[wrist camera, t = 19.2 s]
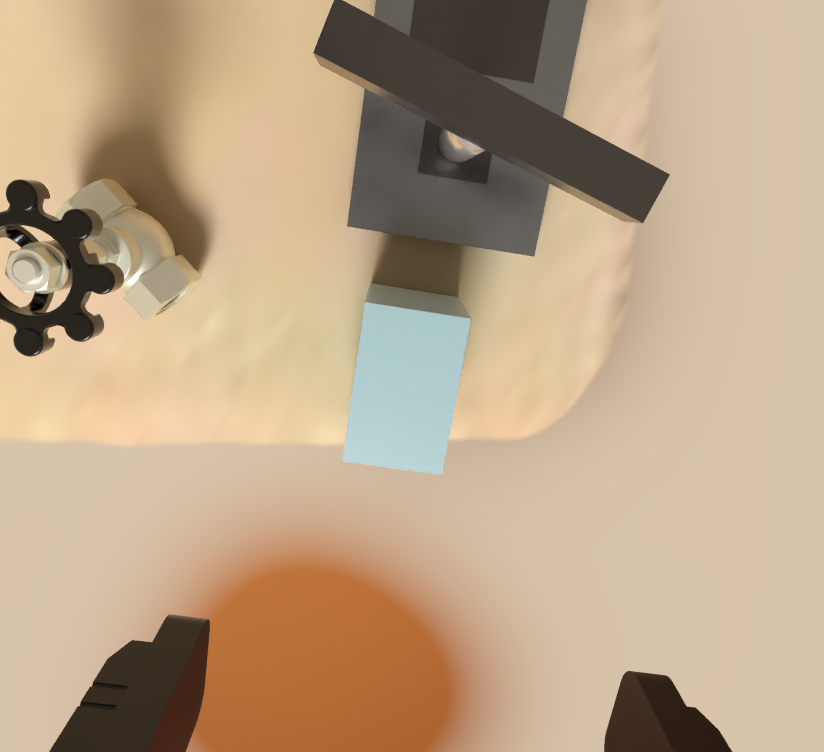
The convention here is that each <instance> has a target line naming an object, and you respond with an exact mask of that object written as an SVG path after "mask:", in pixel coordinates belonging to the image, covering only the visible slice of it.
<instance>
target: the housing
mask: <svg viewBox="0 0 824 752" xmlns="http://www.w3.org/2000/svg"><path fill="white" fill-rule="evenodd" d="M586 2H587V0H376V7H375V15H374V17H375V18H377V19H378V20H380V21H382V22H384V23H386V24H388V25H390V26H392V27H393V28H395V29H397V30H399V31H401V32H403V33H405V34H407V35H409V36H410V37H412V38H414V39H416V40H418V41H420V42H422V43H424V44H425V45H427V46H429V47H431V48H433V49H435V50H437V51H439V52H440V53H442V54H444V55H446V56H448V57H450V58H452V59H454V60H455V61H457V62H459V63H461V64H463V65H465V66H467V67H469V68H471V69H472V70H474V71H476V72H478V73H480V74H482V75H484V76H486V77H487V78H489V79H491V80H493V81H495V82H497V83H499V84H501V85H502V86H504V87H506V88H508V89H510V90H512V91H514V92H516V93H517V94H519V95H521V96H523V97H525V98H527V99H529V100H531V101H533V102H534V103H536V104H538V105H540V106H542V107H544V108H546V109H548V110H549V111H551V112H553V113H555V114H557V115H559V116H561V117H563V114H564V109H565V104H566V99H567V95H568V90H569V85H570V80H571V75H572V70H573V65H574V61H575V56H576V51H577V46H578V41H579V36H580V31H581V27H582V22H583V17H584V12H585V7H586ZM442 130H443V128H441V127H439V126H437V125H435V124H433V123H431V122H429V121H428V120H426V119H424V118H422V117H420V116H418V115H416V114H414V113H412V112H410V111H408V110H406V109H404V108H402V107H400V106H398V105H396V104H394V103H393V102H391V101H389V100H387V99H385V98H383V97H381V96H379V95H377V94H375V93H373V92H371V91H369V90H367V89H365V93H364V100H363V108H362V116H361V124H360V131H359V139H358V147H357V155H356V162H355V170H354V178H353V186H352V194H351V201H350V209H349V217H348V225H347V226H348V227H355V228H361V229H367V230H373V231H379V232H386V233H392V234H398V235H404V236H411V237H417V238H423V239H429V240H435V241H442V242H448V243H454V244H460V245H466V246H473V247H479V248H485V249H491V250H497V251H504V252H510V253H516V254H522V255H529V256H534V255H535V250H536V245H537V240H538V235H539V230H540V226H541V221H542V216H543V211H544V206H545V201H546V196H547V192H548V187H549V183H548V182H546V181H544V180H542V179H540V178H538V177H536V176H534V175H532V174H530V173H529V172H527V171H525V170H523V169H521V168H519V167H517V166H515V165H513V164H511V163H509V162H507V161H505V160H503V159H501V158H499V157H497V156H495V155H494V154H492V153H490V152H488V151H486V150H485V151H483V152H481V153H479V154H478V155H476V156H474V157H472V158H471V159H469V160H467V161H465V162H460V163H457V162H452V161H450V160H448V159H447V158H445V157H444V155H443V154H442V152H441V150H440V147H439V136H440V133H441V131H442Z"/></svg>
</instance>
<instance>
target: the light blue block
mask: <svg viewBox="0 0 824 752" xmlns="http://www.w3.org/2000/svg"><path fill="white" fill-rule="evenodd" d="M470 322H471V318H470V316H469V315H468V313H467V311H466V310H465V308H464V306H463V305H462V303H461V301H460V300H459V298H458V297H455V296H449V295H443V294H437V293H430V292H424V291H418V290H411V289H405V288H399V287H392V286H386V285H380V284H374V283H371V285H370V288H369V291H368V294H367V297H366V300H365V305H364V312H363V319H362V326H361V333H360V340H359V347H358V354H357V361H356V368H355V375H354V382H353V389H352V396H351V403H350V410H349V417H348V424H347V431H346V438H345V445H344V452H343V461H346V462H353V463H360V464H367V465H374V466H382V467H388V468H396V469H402V470H409V471H417V472H425V473H432V474H438V475H442V471H443V465H444V459H445V455H446V449H447V444H448V439H449V434H450V428H451V423H452V418H453V412H454V407H455V402H456V396H457V391H458V386H459V380H460V375H461V370H462V365H463V359H464V354H465V349H466V343H467V338H468V333H469V327H470Z"/></svg>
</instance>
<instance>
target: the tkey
mask: <svg viewBox="0 0 824 752" xmlns="http://www.w3.org/2000/svg"><path fill="white" fill-rule="evenodd" d="M313 53H314V55H315V57H316V59H317V60H318V62H319V64H320V65H321V66H323V67H325V68H326V69H328V70H330V71H332V72H334V73H336V74H338V75H340V76H342V77H344V78H346V79H348V80H350V81H352V82H354V83H356V84H358V85H360V86H361V87H363V88H365V89H367V90H369V91H371V92H373V93H375V94H377V95H379V96H381V97H383V98H385V99H387V100H389V101H391V102H393V103H394V104H396V105H398V106H400V107H402V108H404V109H406V110H408V111H410V112H412V113H414V114H416V115H418V116H420V117H422V118H424V119H426V120H428V121H429V122H431V123H433V124H435V125H437V126H439V127H441V128H443V130H442V131H441V133H440V136H439V147H440V150H441V152H442V154H443V155H444V157H445V158H447V159H448V160H450V161H452V162H457V163H460V162H465V161H467V160H469V159H471V158H472V157H474V156H476V155H478V154H479V153H481V152H483V151H485V150H486V151H488V152H490V153H492V154H494V155H495V156H497V157H499V158H501V159H503V160H505V161H507V162H509V163H511V164H513V165H515V166H517V167H519V168H521V169H523V170H525V171H527V172H529V173H530V174H532V175H534V176H536V177H538V178H540V179H542V180H544V181H546V182H548V183H550V184H552V185H554V186H556V187H558V188H560V189H562V190H563V191H565V192H567V193H569V194H571V195H573V196H575V197H577V198H579V199H581V200H583V201H585V202H587V203H589V204H591V205H593V206H595V207H596V208H598V209H600V210H602V211H604V212H606V213H608V214H610V215H612V216H614V217H616V218H618V219H620V220H622V221H625V222H635V223H643V222H644V220H645V218H646V217H647V215H648V213H649V211H650V209H651V208H652V206H653V204H654V202H655V201H656V199H657V197H658V195H659V193H660V191H661V190H662V188H663V186H664V184H665V182H666V181H667V179H668V177H669V174H668V173H666V172H664V171H662V170H660V169H658V168H656V167H655V166H653V165H651V164H649V163H647V162H645V161H643V160H641V159H640V158H638V157H636V156H634V155H632V154H630V153H628V152H626V151H625V150H623V149H621V148H619V147H617V146H615V145H613V144H611V143H610V142H608V141H606V140H604V139H602V138H600V137H598V136H596V135H595V134H593V133H591V132H589V131H587V130H585V129H583V128H581V127H579V126H578V125H576V124H574V123H572V122H570V121H568V120H566V119H564V118H563V117H561V116H559V115H557V114H555V113H553V112H551V111H549V110H548V109H546V108H544V107H542V106H540V105H538V104H536V103H534V102H533V101H531V100H529V99H527V98H525V97H523V96H521V95H519V94H517V93H516V92H514V91H512V90H510V89H508V88H506V87H504V86H502V85H501V84H499V83H497V82H495V81H493V80H491V79H489V78H487V77H486V76H484V75H482V74H480V73H478V72H476V71H474V70H472V69H471V68H469V67H467V66H465V65H463V64H461V63H459V62H457V61H455V60H454V59H452V58H450V57H448V56H446V55H444V54H442V53H440V52H439V51H437V50H435V49H433V48H431V47H429V46H427V45H425V44H424V43H422V42H420V41H418V40H416V39H414V38H412V37H410V36H409V35H407V34H405V33H403V32H401V31H399V30H397V29H395V28H393V27H392V26H390V25H388V24H386V23H384V22H382V21H380V20H378V19H377V18H375V17H373V16H371V15H369V14H367V13H365V12H363V11H362V10H360V9H358V8H356V7H354V6H352V5H350V4H348V3H347V2H345V1H343V0H334V2H333V4H332V7H331V9H330V12H329V14H328V17H327V19H326V22H325V24H324V27H323V29H322V32H321V34H320V37H319V39H318V42H317V45H316V47H315V50H314V52H313Z"/></svg>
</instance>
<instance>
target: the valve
mask: <svg viewBox="0 0 824 752" xmlns="http://www.w3.org/2000/svg"><path fill="white" fill-rule="evenodd" d="M6 197H7V200H8V202H9V204H10V206H9V208H8V210H6V211H4V212H1V213H0V238H1V237H7V238H9V239H11V240H13V241H14V242H16V243H17V244H18V245H19V246H20V247H21V249H20V250H17V251H11V252H10V254H9V257H8V261H7V265H6V272H5V274H6V276H7V277H8V278H9V279H10V281H11V282H12V283H13V284H14V285H15V286H16V287H17V288H18V289H19V290H21V291H22V292H23V293H26V292H35V293H34V296H33V299H32V301H31V302H30V303H29V304H28V305H27V306H25V307H21V308H19V307H18V306H16V305H14V304H13V303H11V302H10V301H9V300H7V299H6V298H5V297H4V296H3V295H2V293H1V292H0V319H1V320H4V321H6V322H8V323H10V324H12V325H13V326H14V327H15V329H16V334H15V335H14V339H13V341H14V346H15V348H16V349H17V350H18V352H20V353H21V354H23V355H25V356H36V355H38V354H41V353H43V352H45V351H48V350H50V349H51V348H52V347H53V345H54V342H55V339H54V338H48V335H47V331H48V329H49V328H50V327H52V326H56V325H60V326H63V327H64V328H65V331H66V333H67V335H68V336H69V337H70V338H71V339H73V340H75V341H79V342H84V341H87V340H89V339H91V338H94V337H96V336H98V335H99V334H100V333H101V332H102V331H103V328H104V322H103V319H102V317H101V316H100V314H97V315H95V316H94V315H92V314H91V313H89V312H88V311H87V310H86V308H85V305H86V303H87V301H88V299H89V297H90V295H91V291H93V292H94V293H97V294H106V293H109V292H113V291H116V290H119V291H122V292H125V293H127V294H126V295H125V296H124V299H125V300H126V301H127V302H128V304H129V305H130V306H131V307H132V308H133V309H134V310H135V311H136V312H137V313H138V314H139V315H140V316H141V318H142V319H143V320H152V319H154V318H156V317H157V316H159V315H160V314H162V313H163V312H165V311H166V310H167V309H169V308H170V307H171V306H173V305H174V304H175V303H176V302H178V301H179V300H180V299H181V298H183V297H184V296H185V295H186V294H187V293H188V292H189V291H191V290H192V289H193V288H194V287H195V286H196V285H197V284H198V282H199V281H200V278H201V276H200V275H199V273H198V272H197V271H196V270H195V269H194V268H193V267H192V266H191V264H190V263H189V262H188V261H187V260H186V259H185V258H184V257H183V255H182V254H181V255H178V256H175V250H174V246H173V243H172V240H171V238H170V236H169V234H168V233H167V231H166V230H165V228H164V227H163V226H162V225H161V224H160V223H159V222H158V221H157V220H156V219H154V218H153V217H152V216H150V215H149V214H147V213H145V212H143V211H141V210H138V209H135V208H136V206H137V203H136V202H135V201H134V200H133V199H132V198H131V197H130V196H129V194H128V193H127V192H126V191H125V190H124V189H123V188H122V186H121V185H120V184H119V183H118V182H117V181H115V180H112V179H101V180H98V181H95V182H93V183H91V184H89V185H87V186H86V187H84V188H82V189H81V190H79V191H78V192H77V193H75V194H74V195H73V196H72V197H70V198H69V199H68V200H67V201H66V202H65V203H64V204H63V205H62V206H61V208H60V209H59V210H58V212H57V214H56V217H54V216H51V215H49V214H46V213H45V212H44V210H43V201H44V199H49V198H50V194H49V191H48V189H47V188H46V187H45V185H43V184H42V183H41V182H38V181H35V180H14V181H12V182H11V183H10V184H9V185H8V187H7V189H6ZM20 225H26V226H31V227H35V228H37V229H40V230H42V231H44V232H45V233H47V234H49V235H50V236H51V237H52V238H53V239H55V240H52V241H44V242H39V241H38V240H37V239H36V238H35V237H34V236H33V235H32V234H31V233H30V232H29V231H27V230H26V229H25V228H23V227H21V226H20ZM70 287H71V289H70V292H69V294H68V296H67V298H66V300H65V301H64V302H63V303H62V304H61V305H60V306H59V307H58V308H56V309H55V310H53V311H51V312H47V313H45V312H46V310H47V309H48V307H49V305H50V303H51V300H52V298H53V294H54V292H55V291H59V290H63V289H67V288H70Z"/></svg>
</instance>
